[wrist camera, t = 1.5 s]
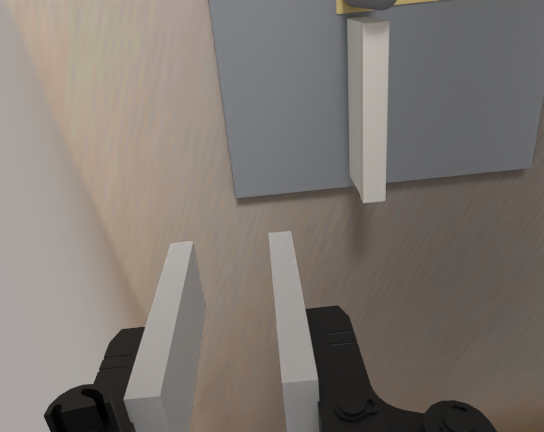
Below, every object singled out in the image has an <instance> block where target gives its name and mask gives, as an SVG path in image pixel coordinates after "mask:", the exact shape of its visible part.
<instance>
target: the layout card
mask: <svg viewBox="0 0 544 432" xmlns="http://www.w3.org/2000/svg"><path fill="white" fill-rule="evenodd" d="M209 5H210V13H211V20H212V27H213V35H214V42H215V49H216V57H217V64H218V71H219V79H220V86H221V93H222V100H223V108H224V115H225V122H226V130H227V137H228V144H229V152H230V159H231V166H232V174H233V181H234V188H235V196H236V198H245V197H254V196H264V195H274V194H284V193H293V192H303V191H313V190H323V189H332V188H342V187H352V186H355V184H354V183H353V181H352V179H351V177H350V170H349V107H348V44H347V19H348V18H358V17H370V18H375V19H380V20H387V21H389V60H388V106H387V151H386V183H391V182H401V181H411V180H420V179H430V178H440V177H450V176H459V175H469V174H479V173H489V172H498V171H508V170H518V169H528V168H532V162H533V156H534V151H535V145H536V139H537V133H538V127H539V121H540V116H541V110H542V104H543V98H544V0H397V1H396V3H395V4H394V5H393V6H392V7H390V8H389V9H387V10H383V11H377V10H370V9H364V8H357V7H351V6H349V5H347V4H346V3H345V2H344V1H343V0H209Z"/></svg>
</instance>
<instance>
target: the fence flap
mask: <svg viewBox="0 0 544 432" xmlns="http://www.w3.org/2000/svg"><path fill="white" fill-rule="evenodd" d="M347 44H348V107H349V170H350V177H351V179H352V181H353V183H354V184H355V186H356V188H357V190H358V192H359V193H360V198H361V200H362V202H363V203H371V202H381V201H385V197H386V151H387V106H388V60H389V21H387V20H380V19H375V18H370V17H358V18H348V19H347Z"/></svg>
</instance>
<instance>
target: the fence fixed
mask: <svg viewBox="0 0 544 432" xmlns="http://www.w3.org/2000/svg"><path fill="white" fill-rule="evenodd" d="M343 1H344V2H345V3H346V4H347V5H349V6H351V7H357V8H364V9H370V10H377V11H383V10H387V9H389V8H390V7H392V6H393V5H394V4H395V3H396V1H397V0H343Z"/></svg>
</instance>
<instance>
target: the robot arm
mask: <svg viewBox="0 0 544 432" xmlns="http://www.w3.org/2000/svg"><path fill="white" fill-rule="evenodd" d="M268 234H269V246H270V257H271V268H272V279H273V290H274V301H275V313H276V324H277V335H278V346H279V357H280V369H281V380H282V390H283V399H284V408H285V417H286V426H287V432H497V431H496V429H495V428H494V427H493V425H492V424H491V422H490V421H489V420H488V419H487V418H486V417H485V416H484V415H483V414H482V413H481V412H480V411H479V410H477V409H476V408H474V407H472V406H470V405H469V404H466V403H462V402H458V401H455V400H452V401H440V402H438V403H435V404H433V405H431V406H430V407H429V409H428V410H427V411H426V412H425V414H423V413H418V412H412V411H406V410H402V409H399V408H395V407H393V406H391V405H389V404H387V403H386V402H384V401H383V400H382V399H380V398H379V397H378V396H377V394H376V393H375V392H374V391H373V389H372V387H371V384H370V381H369V378H368V375H367V372H366V369H365V365H364V362H363V359H362V356H361V353H360V349H359V346H358V344H357V340H356V337H355V334H354V331H353V327H352V324H351V321H350V318H349V316H348V315H347V314H346V313H345V312H344V311H343V310H342V309H341V308H340V307H339V306H329V307H320V308H310V309H305V305H304V299H303V294H302V289H301V283H300V278H299V272H298V267H297V261H296V256H295V251H294V245H293V240H292V234H291V231H284V232H274V233H268ZM205 308H206V305H205V300H204V295H203V290H202V284H201V279H200V274H199V269H198V263H197V258H196V253H195V248H194V242H193V241H187V242H177V243H171V244H170V247H169V250H168V254H167V257H166V260H165V264H164V267H163V270H162V274H161V277H160V280H159V283H158V287H157V290H156V293H155V297H154V300H153V303H152V307H151V310H150V313H149V317H148V320H147V323H146V327H138V328H129V329H122V330H121V331H120V332H119V333H118V334H117V335H116V336H115V337H114V338H113V339H112V340H111V342H110V343H109V345H108V348H107V350H106V353H105V356H104V360H103V361H102V363H101V366H100V368H99V372H98V373H97V376H96V379H95V381H94V384H88V385H81V386H78V387H75V388H72V389H70V390H68V391H67V392H65V393H63V394H61V395H60V396H59V397H58V398H56V399H55V400H54V401H53V402H52V403H51V404H50V405H49V407H48V409H47V411H46V412H45V414H44V418H45V420H46V422H47V424H48V427H49V429H50V431H51V432H189V431H190V423H191V415H192V408H193V400H194V392H195V385H196V377H197V369H198V362H199V354H200V346H201V339H202V331H203V323H204V316H205Z"/></svg>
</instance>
